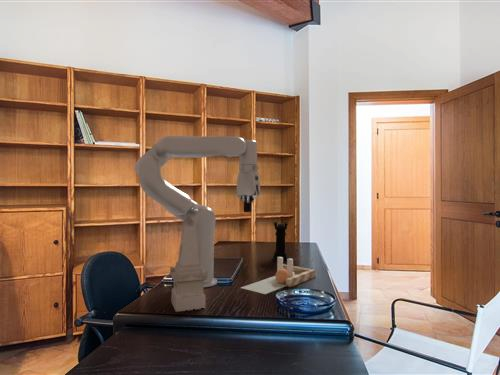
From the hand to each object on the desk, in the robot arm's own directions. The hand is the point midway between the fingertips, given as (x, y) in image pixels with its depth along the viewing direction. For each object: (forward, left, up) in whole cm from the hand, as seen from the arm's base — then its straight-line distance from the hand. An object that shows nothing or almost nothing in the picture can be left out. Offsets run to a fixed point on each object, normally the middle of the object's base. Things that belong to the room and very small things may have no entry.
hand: (247, 211), depth 151 cm
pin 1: (+14, -3, -29) cm, 32 cm away
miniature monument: (-28, -27, -29) cm, 49 cm away
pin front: (+13, -7, -28) cm, 31 cm away
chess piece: (+28, +33, -29) cm, 52 cm away
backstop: (+17, -3, -29) cm, 33 cm away
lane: (+11, -8, -29) cm, 32 cm away
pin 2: (+17, -7, -29) cm, 34 cm away
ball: (+12, -11, -26) cm, 30 cm away
